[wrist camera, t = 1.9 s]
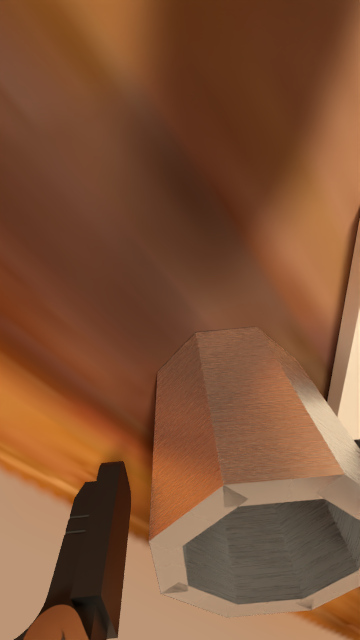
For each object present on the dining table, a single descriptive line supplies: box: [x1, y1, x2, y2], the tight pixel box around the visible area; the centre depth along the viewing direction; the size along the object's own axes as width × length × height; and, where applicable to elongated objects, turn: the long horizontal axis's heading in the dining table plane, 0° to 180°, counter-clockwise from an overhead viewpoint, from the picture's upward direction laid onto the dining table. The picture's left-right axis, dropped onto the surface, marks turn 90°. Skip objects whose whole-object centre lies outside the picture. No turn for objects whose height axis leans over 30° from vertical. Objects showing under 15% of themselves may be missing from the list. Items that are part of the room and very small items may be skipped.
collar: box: [149, 327, 360, 617], centre depth 11 cm, size 6×6×7 cm
